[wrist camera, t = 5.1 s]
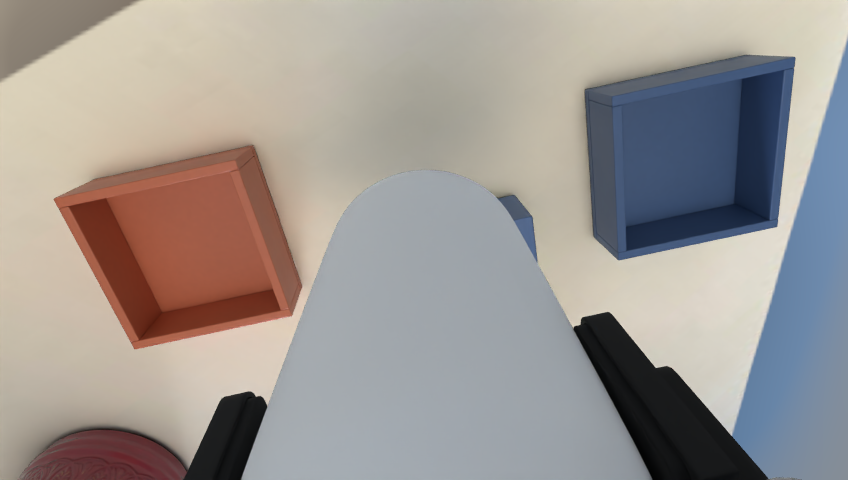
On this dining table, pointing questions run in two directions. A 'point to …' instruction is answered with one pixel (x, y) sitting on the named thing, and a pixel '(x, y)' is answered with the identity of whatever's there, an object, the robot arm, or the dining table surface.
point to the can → (437, 354)
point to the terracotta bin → (185, 246)
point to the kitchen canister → (104, 459)
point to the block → (521, 220)
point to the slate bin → (688, 154)
